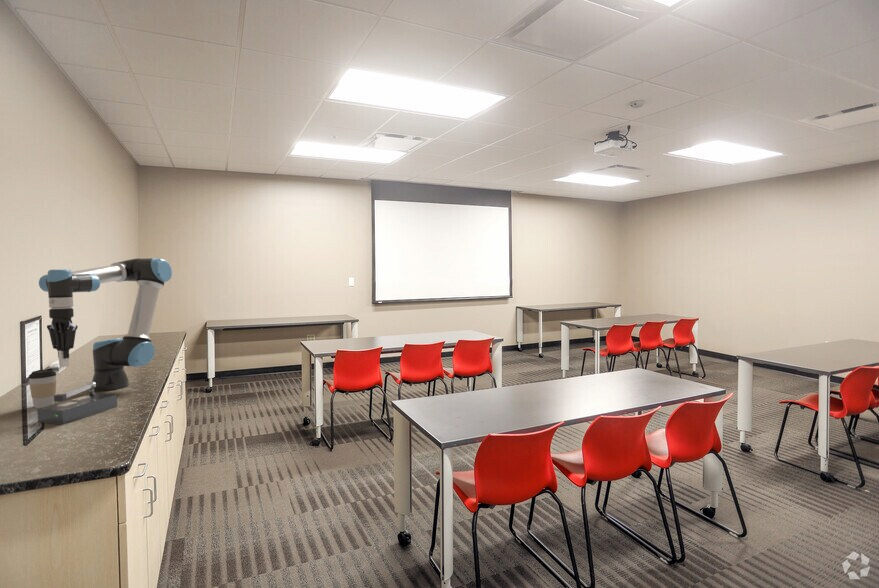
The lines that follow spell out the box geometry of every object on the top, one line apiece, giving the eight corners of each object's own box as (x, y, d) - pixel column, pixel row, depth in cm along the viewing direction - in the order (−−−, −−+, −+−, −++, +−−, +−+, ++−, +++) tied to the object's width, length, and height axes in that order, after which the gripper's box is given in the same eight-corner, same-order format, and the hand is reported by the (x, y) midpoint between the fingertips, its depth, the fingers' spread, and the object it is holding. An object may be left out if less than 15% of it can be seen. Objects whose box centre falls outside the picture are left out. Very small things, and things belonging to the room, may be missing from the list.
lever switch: (94, 404, 194) (93, 386, 193) (117, 406, 191) (116, 387, 191) (36, 422, 172) (35, 401, 171) (62, 424, 169) (60, 403, 169)
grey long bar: (89, 386, 192) (89, 381, 192) (97, 386, 193) (97, 381, 193) (54, 401, 171) (53, 395, 171) (62, 401, 172) (62, 395, 172)
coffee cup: (41, 409, 188) (39, 373, 187) (24, 408, 190) (21, 372, 189) (63, 402, 197) (61, 368, 196) (46, 401, 199) (44, 367, 198)
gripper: (38, 308, 182) (41, 367, 183) (64, 308, 179) (67, 369, 180) (58, 307, 189) (61, 363, 191) (83, 307, 186) (86, 365, 188)
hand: (64, 366), depth 186 cm, fingers closed
